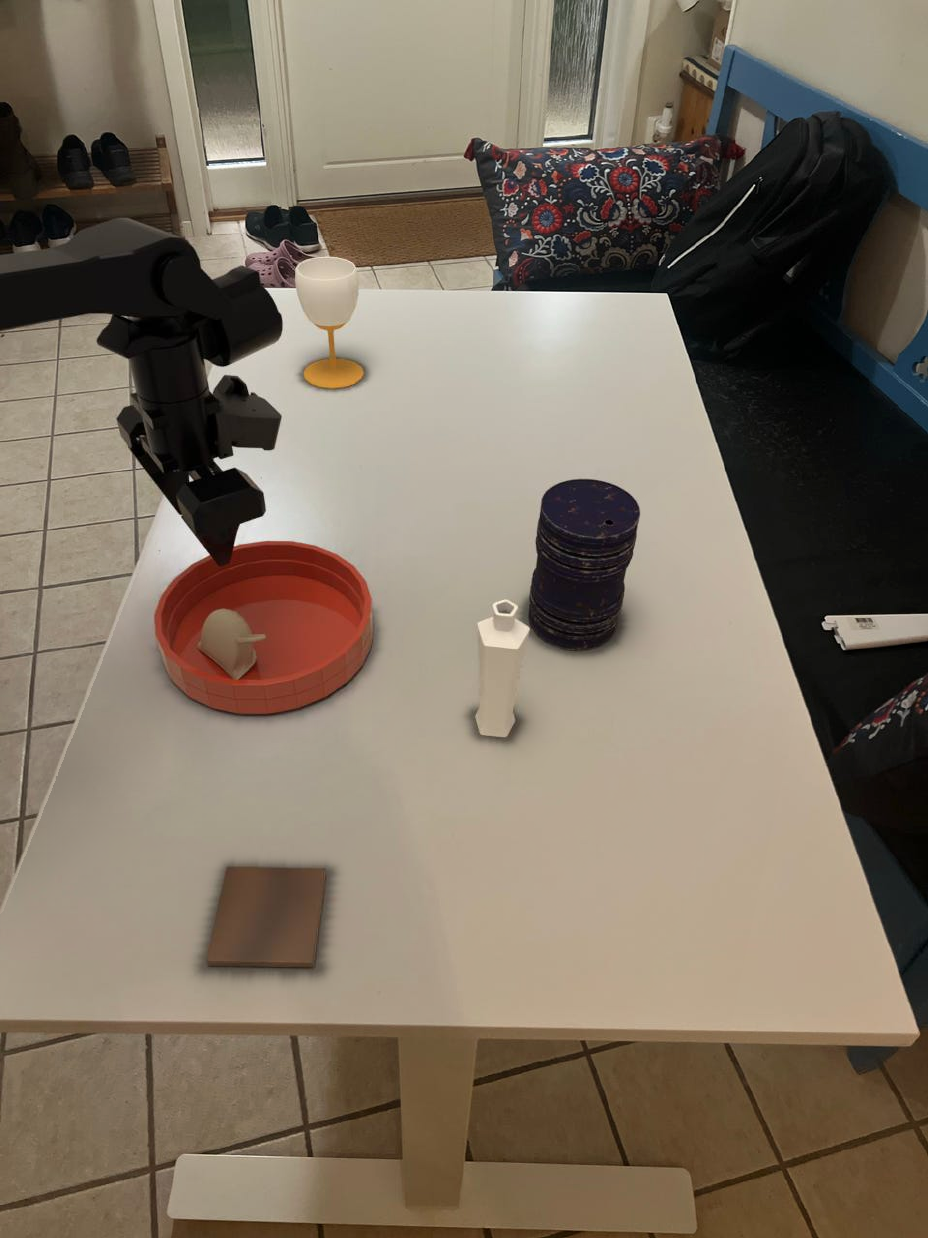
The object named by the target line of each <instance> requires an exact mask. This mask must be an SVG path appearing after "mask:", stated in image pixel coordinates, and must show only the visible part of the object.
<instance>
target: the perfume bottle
mask: <svg viewBox="0 0 928 1238" xmlns="http://www.w3.org/2000/svg"><path fill="white" fill-rule="evenodd" d="M492 608H493V615H492V616H491V617H488V618H485V619H483V620H479V621H478V622H477V657H478V688H479V689H478V691H479V692H478V693H479V707H478V710H477V712H476V714H475V721H476V724H477V728H478V733H479V734H480V735H481V736H487V737H497V738H507V737H508V735H509V733H510V732H511V730H512V728H513V726H514V724H515V722H516V717H515V714H514V711H513V709H514V705H515V701H516V696H517V691H518V687H519V681H520V678H521V673H522V667H523V662H524V657H525V654H526V649H527V643H528V640H529V639H528V638H529V634H530V628H531V627H530V626H528V625H527V624H525V623H523V622H522V621H521V620H518V619H517V618H516V613H517V610H518V609H519V606H518V605H517V604H516V603H514V602H512V601H510V600H509V599H507V598H506V599H502V600H499V601H495V602H493V603H492Z"/></svg>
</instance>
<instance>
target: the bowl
mask: <svg viewBox="0 0 928 1238" xmlns="http://www.w3.org/2000/svg"><path fill="white" fill-rule="evenodd" d="M219 609H226V610H227V609H230V610H232V611H234V612H237V613H238V614H239V615H240V616H242V617H243V618H244V619H245V621H246V623H247V624H248V625H249V628H250V630H251V631H252V633H253V635H257V634H263V635H265V636H266V639H265V640H263V641H257V642H254V644H253V648H254V650H255V651H256V653H255V655H256V656H257V658H256V661H255V664H254V665H253V666H252V667H251V668H250V669H249V670H248V671H247V672H246V673H245V674H244V675H243V676H242V677H241V678H240V679H239V680H234V679H233V678H232V677H231V676H230V675H229V674H228V673H227V672H226V671H225V670H224V669H223V668H222V667H221V666H220V665H219V664H218V663H217V662H215V661H214V660H213V659H212V658H210V657H209V656H208V655H206V654H205V653H204V652H202V651H201V650H200V649H198V648H197V645H198V643H199V642H200V641H201V632H202V628H203V625H204V623H205V621H206V619H207V618H208V616H209V615H210V614H211V613H212V612H214V611H215V610H219ZM154 612H155V613H154V616H153V617H154V619H153V620H154V635H155V638H156V639H155V640H156V643H157V646H158V649H159V654H160V656H161V659H162V660H161V661H162V663H163V665H164V667H165V670H166V671H167V674H168V676H169V677H170V680H171V681H172V683H173V684H175V685H176V686H177V687H178V688H179V689H180V690H181V691H182V692H183V693H184V694H185V695H186V696H187V697H189V698H191V699H192V700H195V701H197V702H198V703H200V704H202V705H205V706H207V707H209V708H210V709H215V710H220V711H225V712H229V713H234V714H238V715H239V714H242V715H243V714H244V715H245V714H246V715H270V714H276V713H283V712H288V711H292V710H296V709H299V708H303V707H305V706H308V705H311V704H313V703H315V702H317V701H319V700H322V699H324V698H326V697H329V695H331V694H333V692H335V691H337V690H338V689H340V688H342V687H343V686H345V684H347V683H348V682H349V681H350V680H351V679H352V678H353V677H354V675H355V674H356V673H357V672H358V671H359V670H360V669H361V668H362V666H363V665H364V663H365V661H366V659H367V657H368V654H369V653H370V650H371V648H372V645H373V633H374V619H373V601H372V595H371V593H370V589H369V586H368V583H367V581H366V579H365V578H364V577H363V575H362V574H361V573H360V572H359V570H358V569H357V568H356V566H355V565H353V564H352V563H351V562H349V560H346V559H345V558H344V557H342V556H341V555H339V554H337V553H335V552H332V551H330V550H327V549H325V548H323V547H320V546H317V545H315V544H310V543H309V544H308V543H303V542H298V541H294V540H292V541H291V540H261V541H255V542H248V543H247V542H246V543H242V544H237V545H234V548H233V552H232V557H231V561H230V563H229V564H227V565H224V566H221V567H219V566H218V565H217V564H216V562H215V561H214V560H213V558H212V557H211V556H210V554H208V555H207V556H205V557H203V558H201V559H199V560H197V561H195V562H194V563H192V564H191V565H189V566H188V567H187V568H185V569H184V570H183V571H181V572H180V573H179V574H178V575H176V576H175V577H174V578H173V579H172V581H171V582H170V583H169V584H168V586H167V587H166V589H165V590H164V591H163V592H162V594H161V595H160V597H159V599H158V603H157V606H156V609H155V611H154Z"/></svg>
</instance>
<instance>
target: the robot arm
mask: <svg viewBox="0 0 928 1238" xmlns="http://www.w3.org/2000/svg"><path fill="white" fill-rule="evenodd" d="M201 264H202V263H201V260H200V257H199V255H198V252H197V250H196V248H194V246H193V245H192V244H191V243H190V241H189V240H188V239H185V238H183V237H181V236H179V235H176V234H173V233H171V232H167V231H164V230H161V229H159V228H156V227H154V226H151V225H148V224H145V223H143V222H139V221H137V220H135V219H132V218H129V217H117V218H112V219H110V220H106V221H104V222H101V223H98V224H95V225H92V226H89V227H86V228H83V229H80V230H79V231H78V232H77V233H76V234H75V235H74V236H73V237H71V238H70V239H69V240H68V241H66V242H64V243H61V244H58V245H56V246H53V247H49V248H42V249H35V250H28V251H20V252H14V253H5V254H0V332H4V331H9V330H14V329H19V328H24V327H29V326H34V325H39V324H43V323H50V322H55V321H59V320H63V319H70V318H74V317H79V316H84V315H92V314H94V315H95V314H99V315H100V314H101V315H102V314H103V315H111V317H110V320H109V322H108V324H107V325H106V326H105V327H104V328H103V329H102V330H101V331H100V333H99V335H98V336H97V338H96V345H97V346H99V347H101V348H103V349H104V350H108V351H110V352H112V353H114V354H116V355H118V356H120V357H123V358H125V359H127V360H128V364H129V367H130V371H131V372H130V373H131V376H132V380H133V385H134V387H135V388H134V389H135V392H133V393H130V398H131V403H132V404H130V405H126V406H123V408H122V409H121V410H120V412H119V414H118V415H117V417H116V418H115V419H116V423H117V428H118V432H119V435H120V437H121V439H122V440H123V441H124V443H125V444H126V445H127V448H128V450H129V451H130V453H131V454H132V455H133V456H134V458H135V459H136V460H137V461H138V463H139V464H140V466H141V467H142V468H143V470H144V471H145V472H146V473H147V475H148V476H149V478H151V481H153V482H154V484H155V485H156V487H157V488H158V489H159V491H160V492H161V493H162V494H163V495H164V497H165V498H166V499H167V501H168V502H169V504H170V505H171V506H172V507H173V509H174V510H175V511H176V513H177V514H178V515H179V516H180V518H181V519H182V521H183V522H184V524H186V526H187V527H188V529H189V530H190V532H191V533H192V534H193V535H194V536H195V538H196V539H197V540H198V542H199V543H200V544H201V546H202V547H203V548H204V550H206V552H207V553H208V555H210V556H211V557H212V558H213V560H214V561H215V562H216V564H217V565H218V566H219V567H221V566H224V565H227V564H229V563H230V561H231V557H232V552H233V548H234V546H235V543H236V539H237V535H238V531H239V528H240V525H242V524H245V523H248V522H250V521H254V520H256V519H259V518H262V517H264V515H265V514H266V512H267V506H266V500H265V493H264V492H263V490H262V489H261V488H260V487H259V486H258V485H257V484H256V482H255V481H254V480H253V479H252V478H251V477H250V476H249V475H248V473H247V472H244V471H243V470H241V469H239V468H237V467H232V468H229V469H226V470H223V469H222V468H221V467H220V466H219V465H218V464H217V462H216V461H215V459H219V460H225V459H228V458H231V457H234V456H235V455H234V450H233V449H234V448H243V449H262V450H263V451H266V452H267V451H272V450H273V451H274V450H275V448H276V444H277V440H278V436H279V431H280V426H281V423H282V418H283V416H282V414H281V413H280V411H278V410H277V409H276V408H275V407H274V406H273V405H272V404H271V403H269V401H268V400H267V399H265V398H264V397H261V396H259V395H258V394H257V393H256V392H254V391H250V392H249V388H248V386H247V384H246V382H244V380H243V379H241V377H239V376H238V375H231V374H224V375H223V376H222V377H221V379H220V380H219V381H218V382H217V384H216V385H215V387H214V388H213V389H212V390H213V391H212V392H211V391H210V386H209V380H208V374H207V368H206V363H205V361H208V362H209V363H211V364H212V365H214V366H215V367H221V368H225V367H228V366H230V365H233V364H234V363H237V362H239V361H241V360H243V359H245V358H247V357H249V356H251V355H254V354H255V353H257V352H259V351H262V350H263V349H266V348H267V347H270V346H272V345H275V344H276V343H277V342H278V341H279V340H280V338H281V337H282V334H283V330H284V329H283V328H284V326H283V325H284V322H283V315H282V313H281V312H279V309H278V306H277V304H276V302H275V300H274V298H273V296H272V295H271V293H270V292H269V291H268V289H266V287H264V285H262V283H261V273H260V272H259V271H258V270H255V269H253V268H250V267H247V266H245V265H239V266H236V267H234V268H232V269H230V270H229V271H228V272H226V273H224V274H223V275H220V276H218V277H215V278H213V279H212V277H210V276H209V275H208V273H207V272H205V270H204V269H203V268H202V265H201ZM190 479H192V480H191V481H190Z"/></svg>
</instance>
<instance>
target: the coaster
mask: <svg viewBox="0 0 928 1238" xmlns="http://www.w3.org/2000/svg"><path fill="white" fill-rule="evenodd" d="M224 874H225V875H224V878H223V883H222V887H221V891H220V896H219V900H218V905H217V910H216V914H215V918H214V923H213V928H212V933H211V936H210V941H209V946H208V950H207V955H206V960H205V962H206V965H207V966H208V967H251V968H253V967H255V968H256V967H258V968H260V967H261V968H263V967H265V968H314V967H315V960H316V954H317V953H316V952H317V945H318V937H319V931H320V921H321V916H322V915H321V914H322V906H323V897H324V890H325V884H326V875H327V873H326V869H325V868H320V867H319V868H317V867H316V868H315V867H309V868H308V867H270V866H269V867H267V866H226V869H225V873H224Z"/></svg>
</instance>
